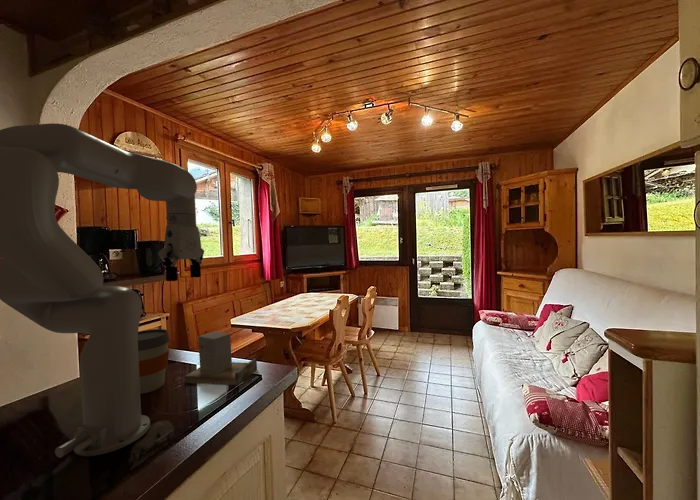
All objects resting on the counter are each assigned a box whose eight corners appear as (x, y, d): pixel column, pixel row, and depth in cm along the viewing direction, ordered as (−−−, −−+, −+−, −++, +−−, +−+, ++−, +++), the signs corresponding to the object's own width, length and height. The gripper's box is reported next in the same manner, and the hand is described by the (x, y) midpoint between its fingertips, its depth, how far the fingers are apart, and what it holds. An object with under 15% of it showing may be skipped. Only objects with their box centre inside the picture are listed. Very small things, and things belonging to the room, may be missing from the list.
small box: (232, 367, 92) (231, 333, 92) (216, 374, 88) (215, 338, 87) (215, 363, 96) (214, 331, 96) (199, 370, 91) (197, 335, 91)
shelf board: (238, 385, 85) (238, 373, 84) (185, 382, 88) (185, 370, 88) (257, 369, 95) (257, 358, 95) (209, 367, 98) (209, 357, 98)
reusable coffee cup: (129, 381, 90) (127, 331, 90) (176, 374, 94) (174, 327, 94) (109, 401, 78) (106, 344, 78) (163, 393, 82) (161, 338, 81)
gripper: (170, 218, 79) (173, 282, 80) (211, 222, 96) (214, 275, 97) (146, 219, 81) (149, 282, 81) (191, 223, 98) (193, 276, 98)
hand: (184, 278), depth 89 cm, fingers open, 9 cm apart
